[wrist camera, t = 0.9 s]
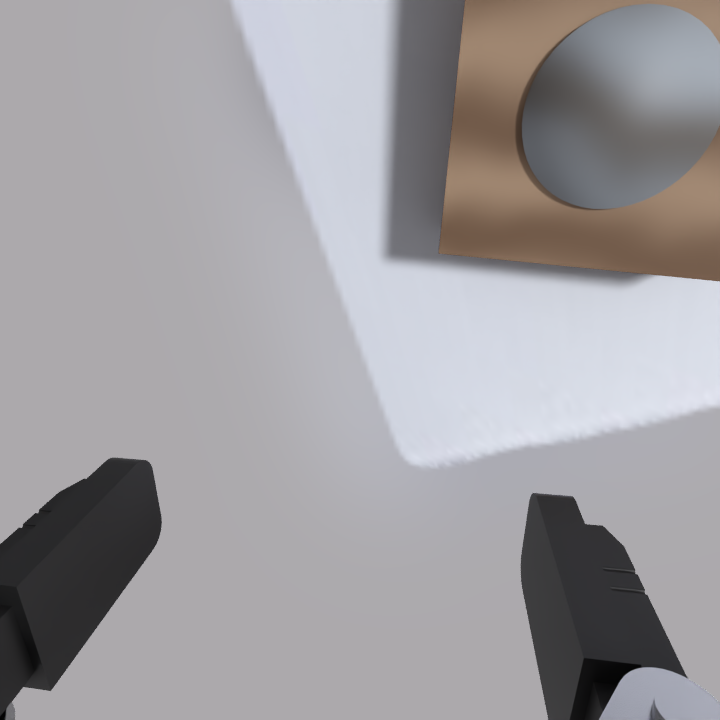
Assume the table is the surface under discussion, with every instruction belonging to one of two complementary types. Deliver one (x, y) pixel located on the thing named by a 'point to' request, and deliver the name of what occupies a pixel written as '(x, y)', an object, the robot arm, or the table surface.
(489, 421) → the table surface
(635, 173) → the walnut plinth
